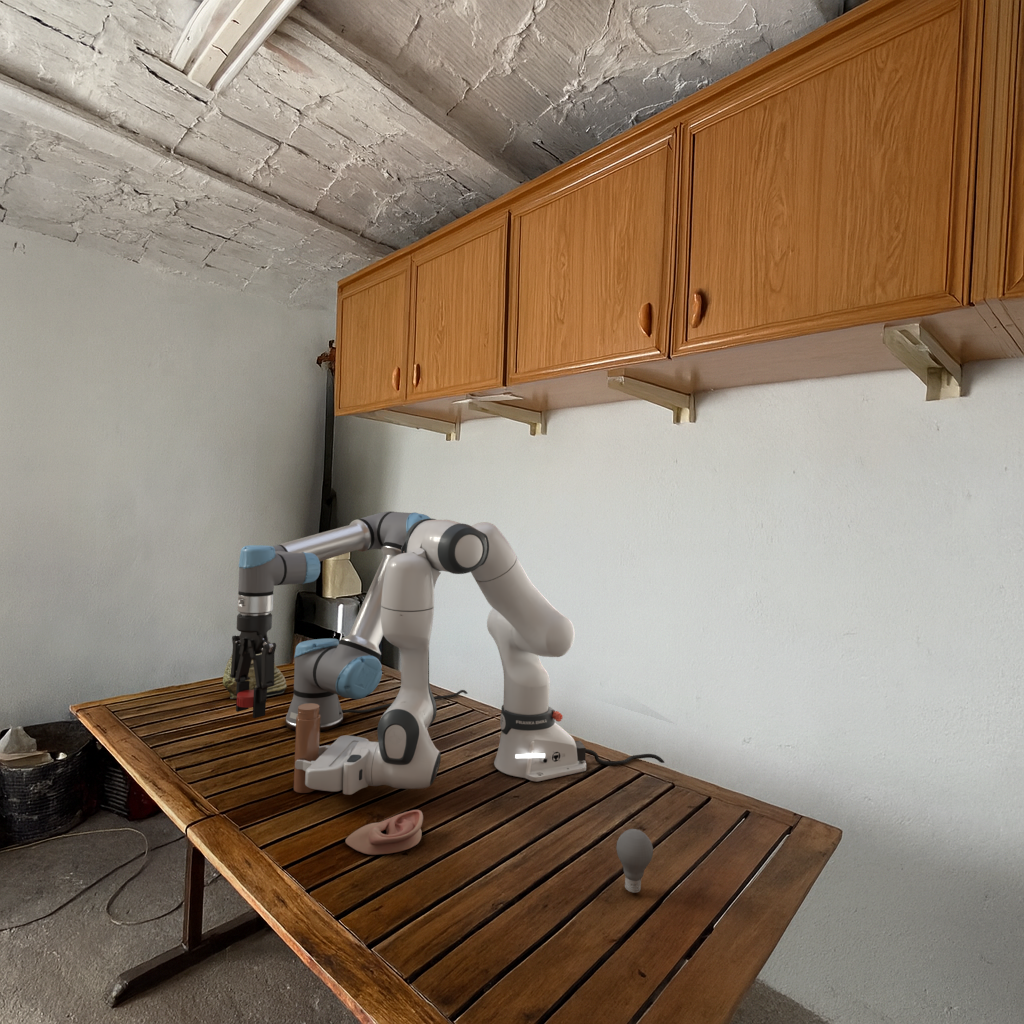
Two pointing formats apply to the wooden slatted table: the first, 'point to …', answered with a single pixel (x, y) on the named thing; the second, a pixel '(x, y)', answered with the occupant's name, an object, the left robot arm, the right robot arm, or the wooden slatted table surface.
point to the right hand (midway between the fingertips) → (302, 757)
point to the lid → (245, 698)
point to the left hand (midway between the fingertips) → (250, 712)
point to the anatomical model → (388, 834)
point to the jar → (306, 741)
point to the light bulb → (634, 857)
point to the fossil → (253, 680)
